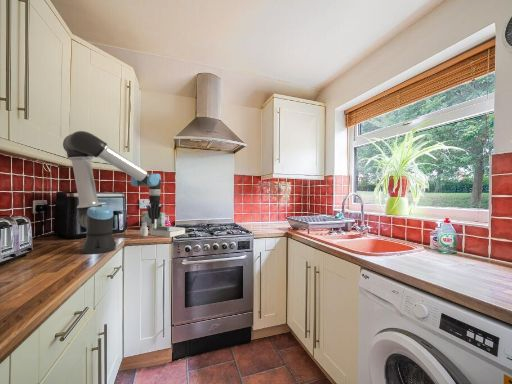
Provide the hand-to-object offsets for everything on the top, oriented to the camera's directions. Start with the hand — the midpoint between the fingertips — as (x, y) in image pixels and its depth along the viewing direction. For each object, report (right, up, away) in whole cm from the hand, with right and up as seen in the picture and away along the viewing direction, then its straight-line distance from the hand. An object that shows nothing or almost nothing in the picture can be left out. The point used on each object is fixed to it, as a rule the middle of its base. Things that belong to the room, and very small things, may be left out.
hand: (154, 228), depth 159 cm
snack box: (-16, -7, +33) cm, 37 cm away
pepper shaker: (-9, -7, +4) cm, 12 cm away
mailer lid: (+5, -3, +12) cm, 14 cm away
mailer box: (+5, -7, +12) cm, 15 cm away
